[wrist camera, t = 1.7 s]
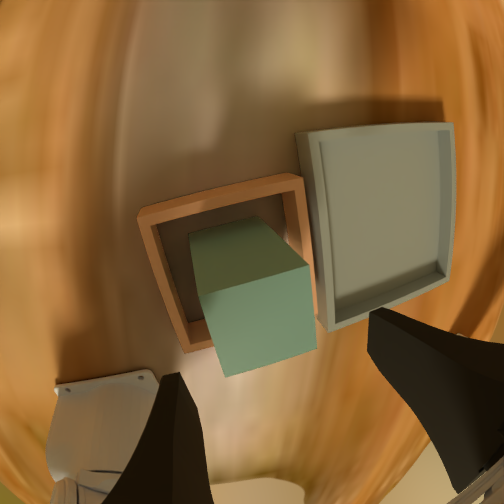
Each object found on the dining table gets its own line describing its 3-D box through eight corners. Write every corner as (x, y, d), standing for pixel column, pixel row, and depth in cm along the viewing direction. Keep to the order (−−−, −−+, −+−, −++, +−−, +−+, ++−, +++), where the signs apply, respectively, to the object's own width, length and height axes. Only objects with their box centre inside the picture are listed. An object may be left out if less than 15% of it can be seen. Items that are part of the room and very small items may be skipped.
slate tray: (317, 318, 23) (328, 332, 22) (294, 132, 18) (307, 132, 16) (435, 272, 25) (449, 280, 24) (435, 121, 20) (453, 122, 18)
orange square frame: (182, 331, 21) (184, 353, 19) (141, 207, 17) (136, 218, 15) (304, 297, 22) (318, 314, 20) (287, 172, 19) (302, 177, 16)
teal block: (205, 295, 20) (225, 377, 13) (188, 233, 19) (198, 296, 11) (269, 278, 21) (317, 348, 14) (257, 215, 19) (309, 264, 12)
